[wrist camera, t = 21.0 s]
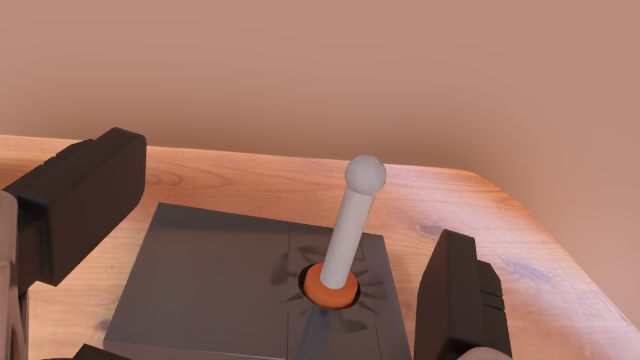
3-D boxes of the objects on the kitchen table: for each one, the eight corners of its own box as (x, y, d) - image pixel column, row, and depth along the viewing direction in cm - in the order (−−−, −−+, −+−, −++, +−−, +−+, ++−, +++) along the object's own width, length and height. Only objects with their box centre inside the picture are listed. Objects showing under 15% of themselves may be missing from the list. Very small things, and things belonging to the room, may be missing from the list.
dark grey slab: (103, 364, 34) (102, 340, 33) (157, 222, 48) (158, 201, 46) (405, 394, 38) (415, 373, 36) (376, 253, 51) (382, 235, 50)
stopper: (299, 323, 41) (343, 168, 33) (299, 285, 45) (339, 138, 37) (350, 329, 42) (406, 179, 34) (346, 291, 45) (395, 147, 38)
